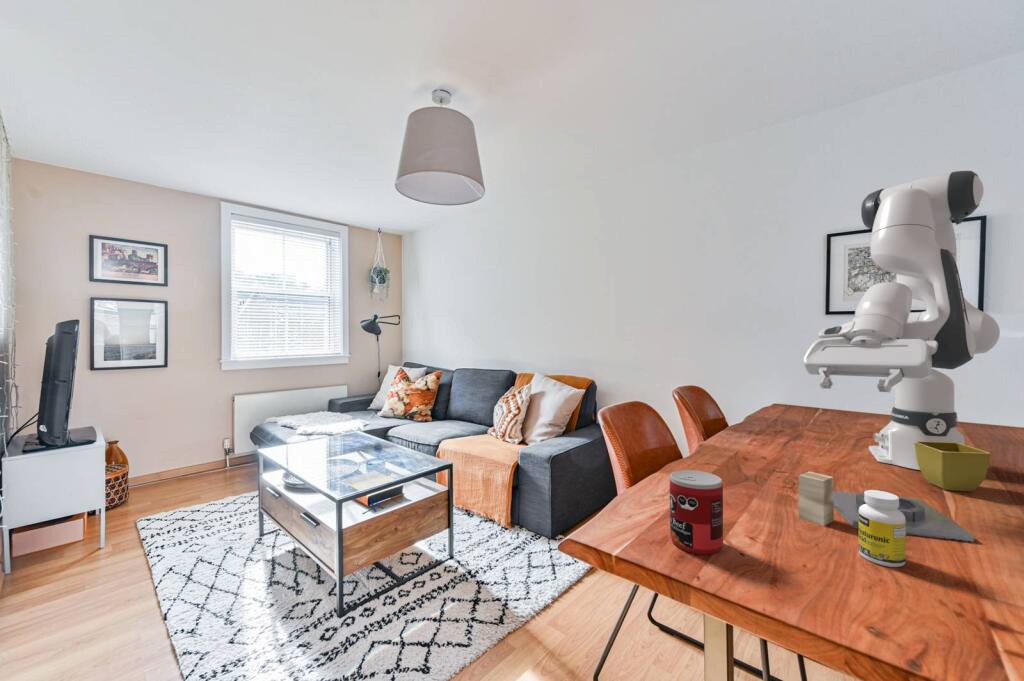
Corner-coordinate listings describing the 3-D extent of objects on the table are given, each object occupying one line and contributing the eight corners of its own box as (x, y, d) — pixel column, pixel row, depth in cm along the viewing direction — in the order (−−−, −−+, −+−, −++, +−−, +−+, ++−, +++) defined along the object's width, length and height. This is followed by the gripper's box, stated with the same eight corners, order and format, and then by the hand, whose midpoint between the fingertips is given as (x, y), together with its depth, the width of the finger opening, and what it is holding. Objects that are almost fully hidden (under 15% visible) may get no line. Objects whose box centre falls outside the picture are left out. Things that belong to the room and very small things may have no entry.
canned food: (664, 533, 75) (663, 469, 74) (710, 533, 74) (710, 469, 74) (679, 555, 67) (679, 485, 67) (732, 555, 67) (731, 485, 66)
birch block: (809, 513, 82) (808, 471, 82) (833, 520, 78) (833, 477, 78) (798, 518, 80) (798, 475, 80) (823, 526, 76) (823, 481, 76)
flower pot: (992, 496, 89) (992, 452, 89) (942, 493, 90) (942, 451, 90) (957, 482, 97) (957, 442, 97) (912, 479, 99) (912, 441, 99)
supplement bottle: (849, 552, 67) (849, 490, 67) (875, 547, 68) (874, 486, 68) (888, 571, 62) (888, 503, 62) (915, 565, 63) (915, 498, 63)
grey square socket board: (823, 495, 90) (823, 482, 90) (920, 505, 85) (920, 491, 85) (853, 527, 75) (853, 512, 75) (973, 542, 70) (973, 525, 70)
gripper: (944, 349, 82) (928, 404, 76) (821, 350, 99) (801, 394, 93) (936, 325, 80) (919, 379, 74) (811, 330, 97) (790, 374, 91)
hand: (852, 388), depth 84 cm, fingers open, 8 cm apart
